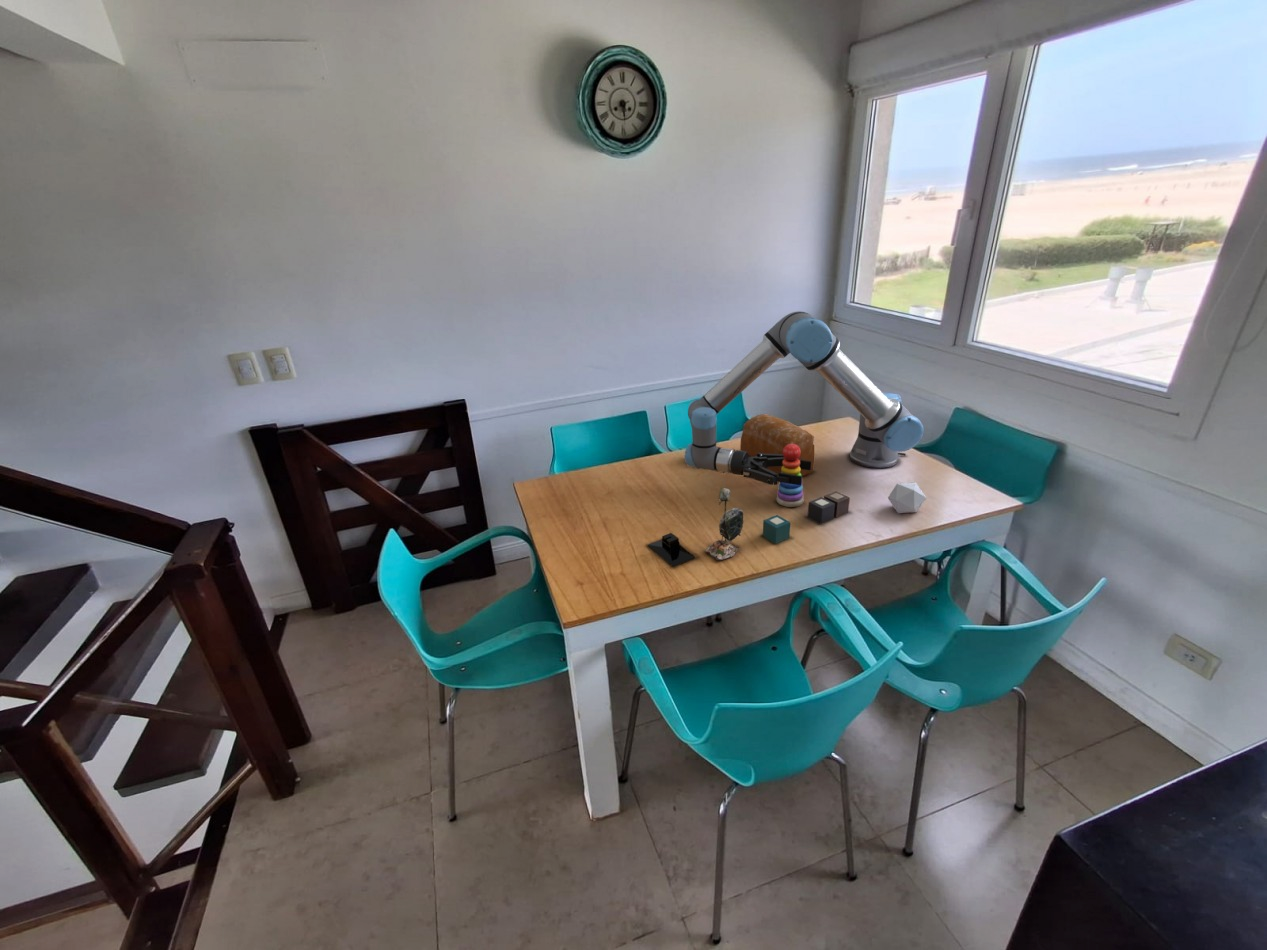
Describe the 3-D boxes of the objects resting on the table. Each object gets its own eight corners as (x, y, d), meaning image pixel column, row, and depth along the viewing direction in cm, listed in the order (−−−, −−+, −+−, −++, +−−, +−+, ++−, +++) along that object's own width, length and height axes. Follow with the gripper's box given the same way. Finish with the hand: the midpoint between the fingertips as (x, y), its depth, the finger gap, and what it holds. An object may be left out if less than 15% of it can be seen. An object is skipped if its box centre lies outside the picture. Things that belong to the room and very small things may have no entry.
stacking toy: (805, 498, 170) (809, 441, 162) (801, 510, 163) (805, 451, 155) (779, 494, 173) (782, 438, 165) (773, 506, 166) (776, 448, 158)
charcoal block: (820, 511, 162) (821, 496, 159) (833, 518, 158) (835, 503, 155) (807, 517, 159) (808, 501, 157) (821, 524, 156) (822, 508, 153)
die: (919, 523, 154) (937, 491, 153) (891, 508, 154) (909, 476, 153) (904, 518, 162) (921, 488, 162) (877, 504, 162) (894, 473, 161)
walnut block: (834, 505, 164) (836, 490, 162) (848, 512, 160) (850, 496, 158) (822, 510, 162) (823, 495, 160) (836, 517, 158) (837, 501, 156)
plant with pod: (752, 551, 146) (754, 483, 137) (715, 564, 142) (715, 494, 133) (734, 537, 152) (735, 471, 144) (699, 549, 148) (697, 482, 140)
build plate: (647, 546, 152) (646, 531, 150) (670, 537, 155) (669, 523, 153) (673, 567, 142) (672, 551, 140) (696, 557, 145) (695, 542, 143)
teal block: (776, 530, 154) (777, 514, 152) (789, 538, 150) (790, 521, 148) (762, 536, 152) (763, 519, 150) (775, 544, 148) (776, 527, 146)
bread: (784, 482, 180) (787, 437, 173) (736, 455, 201) (737, 414, 195) (817, 472, 185) (821, 428, 178) (767, 447, 207) (769, 406, 200)
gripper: (745, 458, 182) (814, 469, 172) (720, 488, 165) (795, 501, 154) (746, 437, 179) (816, 446, 169) (720, 465, 162) (796, 477, 151)
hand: (806, 473), depth 162 cm, fingers open, 10 cm apart
